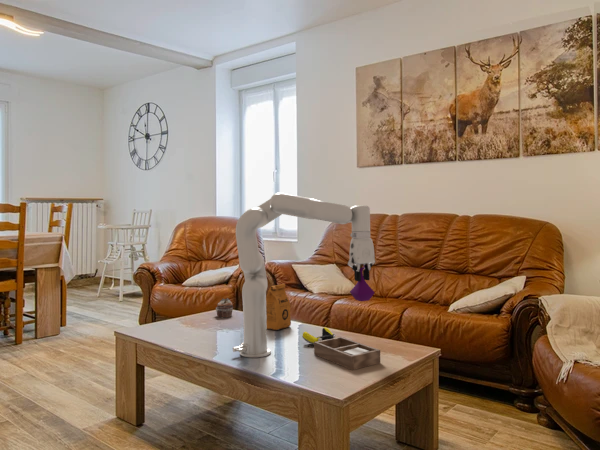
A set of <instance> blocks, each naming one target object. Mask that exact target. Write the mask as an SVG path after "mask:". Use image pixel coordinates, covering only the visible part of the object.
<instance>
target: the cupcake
mask: <svg viewBox="0 0 600 450" xmlns="http://www.w3.org/2000/svg"><path fill="white" fill-rule="evenodd" d="M233 309H234V304H233V302H232V301H231V300H230V298H228V297H227V298H222V299H221V300H220V301H219V302H218V303H217V306H216V307H215V312H216V314H217V318H221V317H225V318H231V317H232V314H233Z"/></svg>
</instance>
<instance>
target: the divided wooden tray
mask: <svg viewBox="0 0 600 450" xmlns="http://www.w3.org/2000/svg"><path fill="white" fill-rule="evenodd" d="M354 348H361V349H365V350H368V351H369V352H365V353H361V354H356V355H350V354H347V353H345V352H343V351H347V350H350V349H354ZM313 354H314V356H317V357H320V358H322V359H325V360H327V361H329V362H332V363H334V364H337V365H339V366H341V367H342V368H346V369H348V370H351V371H353V370H358V369H362V368H365V367H369V366H370V367H371V366H374V365H378V364H381V349H378V348H375V347H373V346H370V345H366V344H363V343H360V342H357V341H354V340H353V339H352V340H351V339H348V338H346V337H342V336H339V337H335V338H333V339H328V340H323V341H317V342H314V345H313Z"/></svg>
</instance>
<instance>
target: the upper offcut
mask: <svg viewBox="0 0 600 450" xmlns="http://www.w3.org/2000/svg"><path fill="white" fill-rule="evenodd" d="M343 352H345V353H347V354H350V355H356V354H361V353H365V352H369V351H368V350H365V349H361V348H354V349H350V350H347V351H343Z"/></svg>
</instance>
